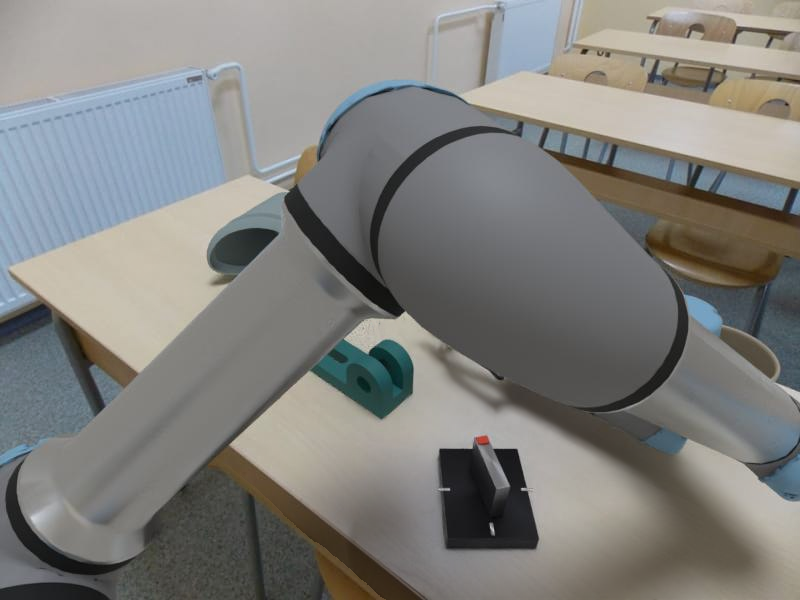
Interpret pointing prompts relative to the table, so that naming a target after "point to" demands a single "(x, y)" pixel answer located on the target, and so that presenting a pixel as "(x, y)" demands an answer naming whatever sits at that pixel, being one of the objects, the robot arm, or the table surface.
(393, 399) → the bracket
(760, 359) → the planter
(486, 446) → the knob
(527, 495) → the panel
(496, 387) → the table surface
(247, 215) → the grey-blue hollow shell part
